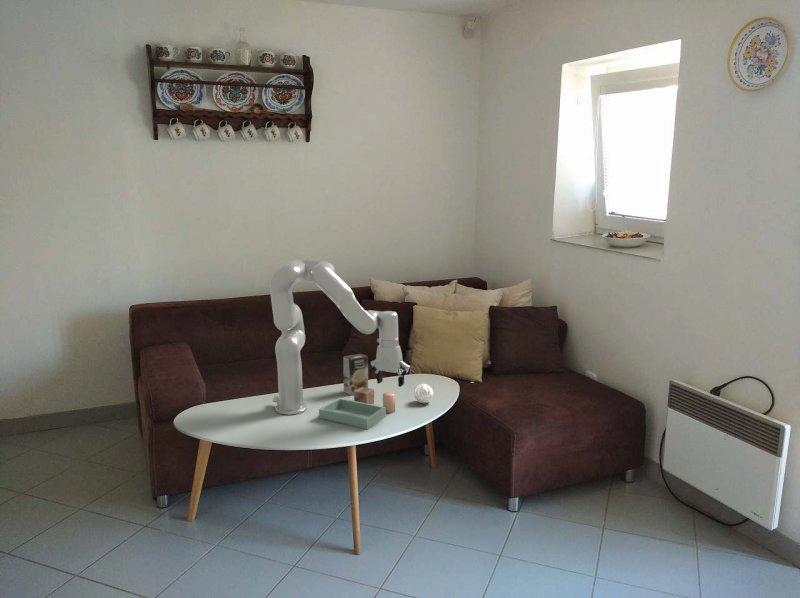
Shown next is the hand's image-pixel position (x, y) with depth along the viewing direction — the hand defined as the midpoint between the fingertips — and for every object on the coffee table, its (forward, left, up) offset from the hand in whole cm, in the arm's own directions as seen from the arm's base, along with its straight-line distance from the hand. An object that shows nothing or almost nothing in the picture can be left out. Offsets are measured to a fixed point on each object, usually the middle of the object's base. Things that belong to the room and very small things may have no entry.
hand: (390, 384), depth 250 cm
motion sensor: (+7, +15, -12) cm, 20 cm away
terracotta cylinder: (-1, 0, -11) cm, 11 cm away
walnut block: (-14, +2, -12) cm, 18 cm away
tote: (-10, -13, -11) cm, 20 cm away
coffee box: (-25, +13, -12) cm, 30 cm away
